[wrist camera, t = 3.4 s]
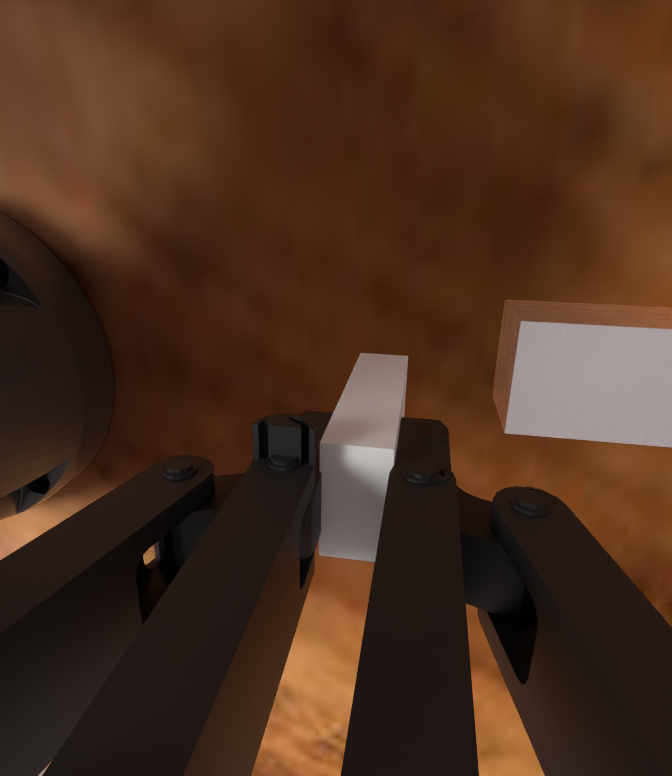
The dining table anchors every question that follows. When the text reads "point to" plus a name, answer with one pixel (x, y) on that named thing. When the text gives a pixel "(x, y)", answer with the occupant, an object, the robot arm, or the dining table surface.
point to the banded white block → (585, 372)
